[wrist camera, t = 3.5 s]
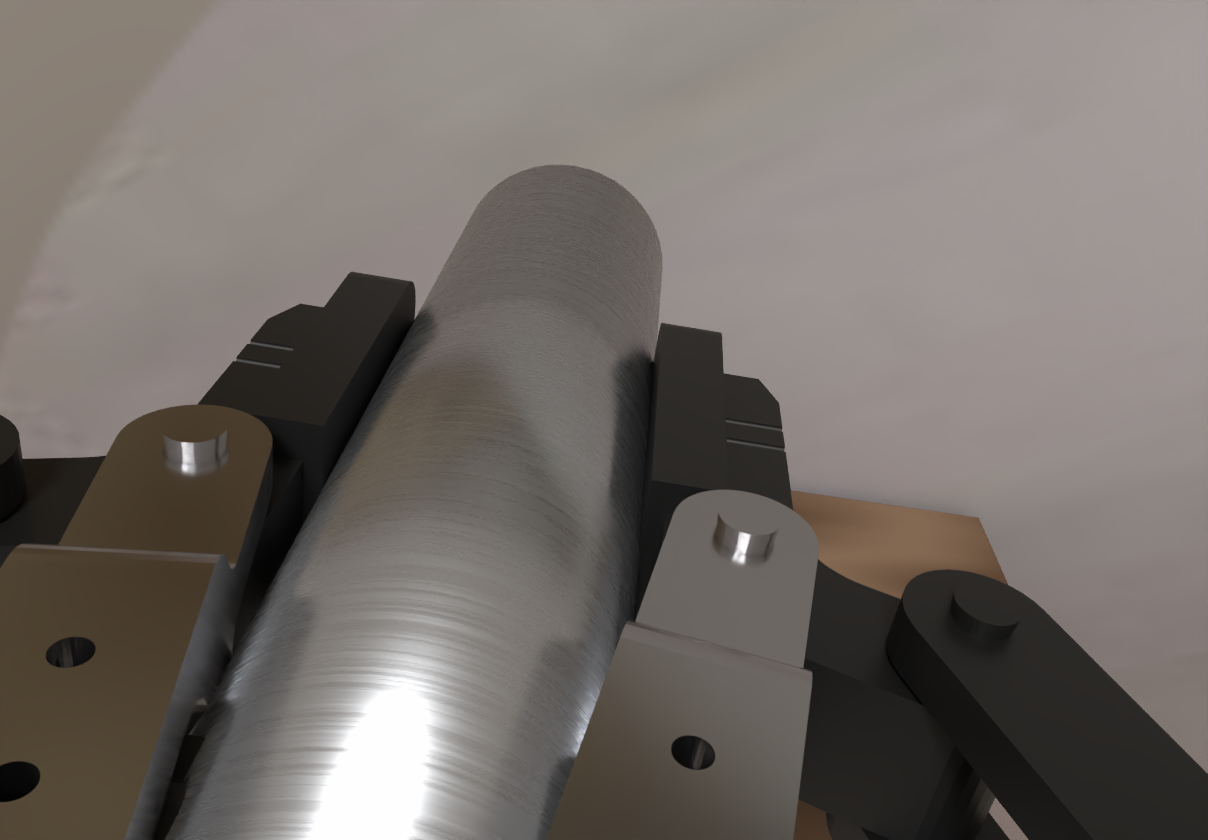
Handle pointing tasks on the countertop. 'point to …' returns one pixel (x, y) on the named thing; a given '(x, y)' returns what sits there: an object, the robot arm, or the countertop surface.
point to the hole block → (887, 563)
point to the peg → (458, 550)
